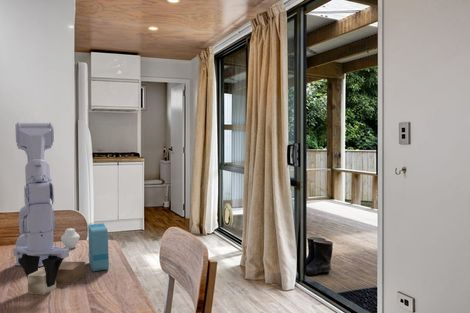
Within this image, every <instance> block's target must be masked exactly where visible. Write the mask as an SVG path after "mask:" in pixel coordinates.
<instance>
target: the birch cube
mask: <svg viewBox="0 0 470 313" xmlns="http://www.w3.org/2000/svg"><path fill="white" fill-rule="evenodd" d="M55 289H57V283H56V280H55V285H53V286H51V287H47V283H46V273H45V270H43V269H38V271H36V272H34V273H31V274H29V275H28V279H27V293H28V294H32V295H33V294H34V295H46V294H48V293H49V292H51V291H53V290H55Z"/></svg>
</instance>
